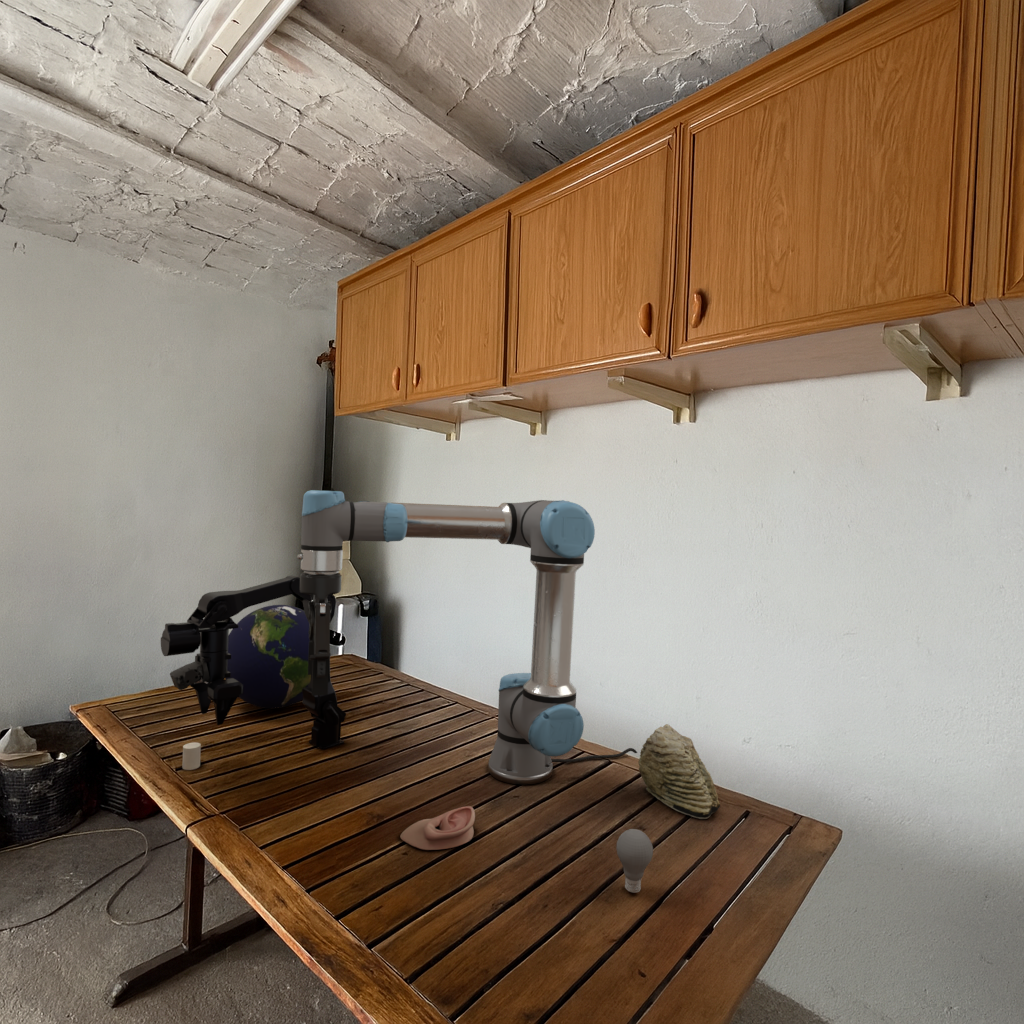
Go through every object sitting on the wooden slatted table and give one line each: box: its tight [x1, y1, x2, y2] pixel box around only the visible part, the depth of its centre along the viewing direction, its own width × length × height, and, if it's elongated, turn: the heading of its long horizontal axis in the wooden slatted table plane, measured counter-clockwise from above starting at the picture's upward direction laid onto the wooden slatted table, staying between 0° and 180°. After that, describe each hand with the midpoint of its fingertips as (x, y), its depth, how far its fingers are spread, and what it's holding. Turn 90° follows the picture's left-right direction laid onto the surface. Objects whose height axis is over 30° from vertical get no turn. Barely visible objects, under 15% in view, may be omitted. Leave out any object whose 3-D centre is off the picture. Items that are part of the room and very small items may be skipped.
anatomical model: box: [399, 805, 476, 851], centre depth 120 cm, size 13×4×12 cm
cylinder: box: [181, 742, 202, 771], centre depth 145 cm, size 4×4×5 cm
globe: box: [224, 604, 311, 709], centre depth 188 cm, size 30×30×30 cm
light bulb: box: [615, 828, 654, 894], centre depth 106 cm, size 6×6×10 cm
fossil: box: [637, 723, 721, 820], centre depth 139 cm, size 9×18×15 cm, turn 46°
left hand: (211, 718), depth 142 cm, fingers open, 9 cm apart
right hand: (317, 683), depth 120 cm, fingers open, 13 cm apart
